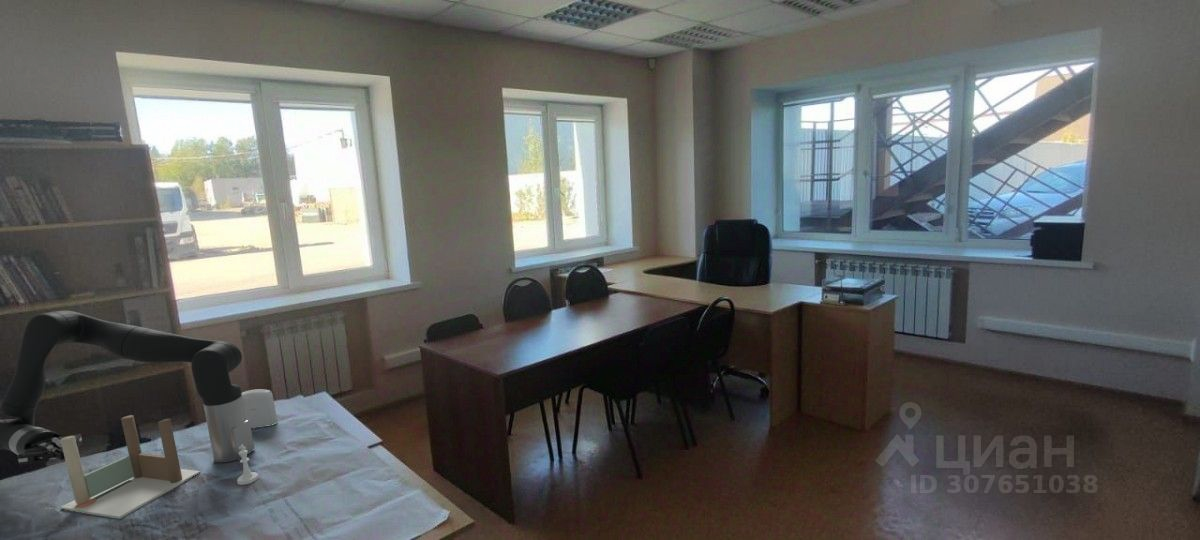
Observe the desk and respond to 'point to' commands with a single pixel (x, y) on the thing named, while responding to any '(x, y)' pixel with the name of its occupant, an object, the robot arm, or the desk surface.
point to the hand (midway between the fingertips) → (68, 455)
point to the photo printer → (259, 407)
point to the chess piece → (246, 469)
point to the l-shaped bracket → (93, 473)
